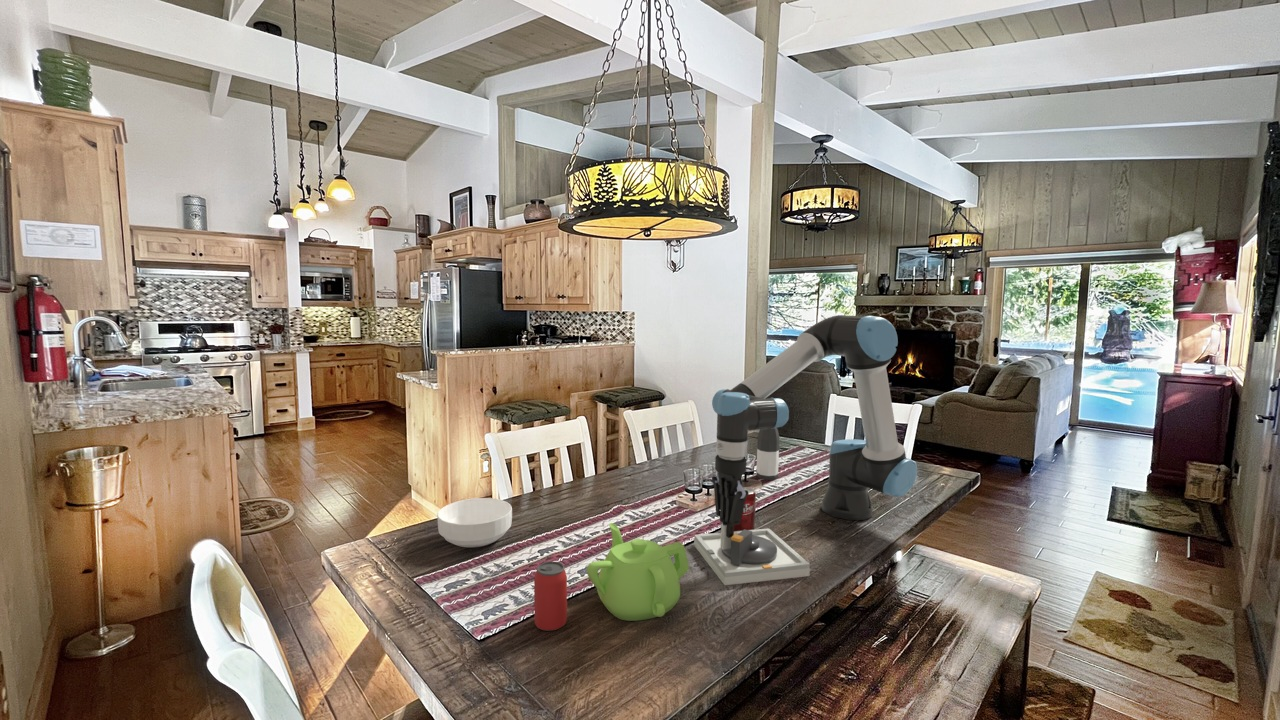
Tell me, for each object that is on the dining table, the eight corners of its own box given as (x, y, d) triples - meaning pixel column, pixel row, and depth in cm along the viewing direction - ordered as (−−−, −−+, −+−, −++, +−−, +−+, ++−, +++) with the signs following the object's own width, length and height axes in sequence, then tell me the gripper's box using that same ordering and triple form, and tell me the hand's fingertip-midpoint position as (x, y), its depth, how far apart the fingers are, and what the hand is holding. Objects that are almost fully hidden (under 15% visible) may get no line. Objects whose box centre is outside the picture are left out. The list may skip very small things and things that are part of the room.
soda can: (754, 536, 160) (756, 495, 159) (728, 534, 161) (729, 493, 160) (754, 526, 167) (756, 487, 166) (729, 524, 168) (731, 485, 167)
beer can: (536, 614, 119) (535, 560, 118) (567, 613, 119) (567, 559, 118) (532, 633, 112) (532, 575, 111) (566, 631, 113) (566, 574, 112)
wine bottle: (756, 479, 211) (759, 400, 208) (755, 472, 219) (758, 396, 216) (778, 480, 210) (781, 401, 207) (777, 474, 218) (780, 397, 215)
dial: (734, 535, 155) (735, 511, 154) (784, 548, 147) (785, 523, 146) (708, 557, 141) (709, 531, 141) (762, 572, 134) (763, 545, 133)
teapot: (666, 636, 112) (668, 566, 110) (575, 616, 119) (575, 550, 117) (690, 591, 130) (691, 530, 128) (610, 575, 136) (610, 518, 135)
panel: (768, 538, 159) (768, 527, 158) (809, 575, 137) (810, 562, 137) (694, 545, 153) (694, 533, 153) (724, 585, 132) (725, 571, 132)
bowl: (526, 539, 156) (526, 510, 155) (461, 563, 142) (460, 531, 141) (487, 520, 169) (487, 493, 168) (424, 539, 155) (423, 510, 154)
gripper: (704, 450, 142) (700, 539, 145) (732, 464, 131) (727, 561, 133) (729, 447, 145) (725, 535, 148) (759, 461, 134) (753, 556, 136)
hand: (726, 547), depth 141 cm, fingers closed
